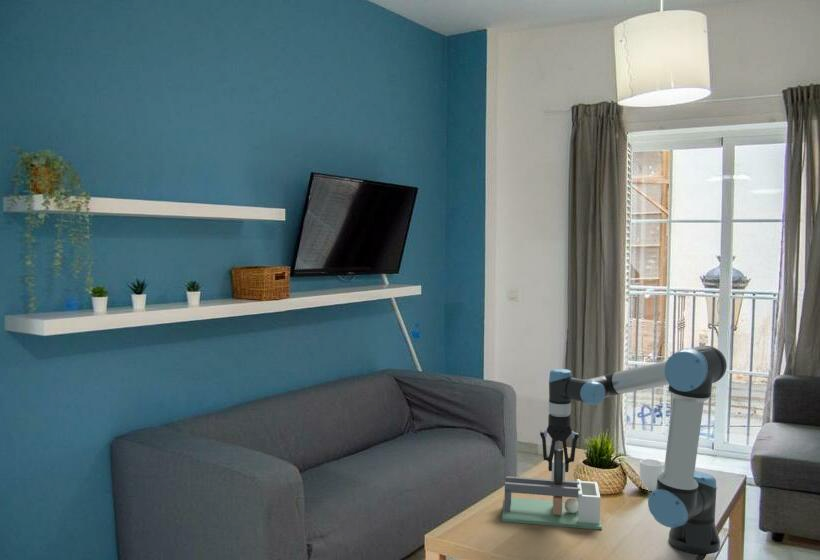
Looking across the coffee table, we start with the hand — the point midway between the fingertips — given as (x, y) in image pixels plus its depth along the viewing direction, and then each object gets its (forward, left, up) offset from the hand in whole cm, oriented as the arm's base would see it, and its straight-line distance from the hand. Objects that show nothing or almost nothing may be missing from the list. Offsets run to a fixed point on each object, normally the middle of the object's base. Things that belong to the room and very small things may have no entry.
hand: (558, 480), depth 247 cm
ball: (0, -5, -9) cm, 10 cm away
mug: (+35, -37, -12) cm, 53 cm away
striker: (0, 0, -10) cm, 10 cm away
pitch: (0, +3, -12) cm, 13 cm away
